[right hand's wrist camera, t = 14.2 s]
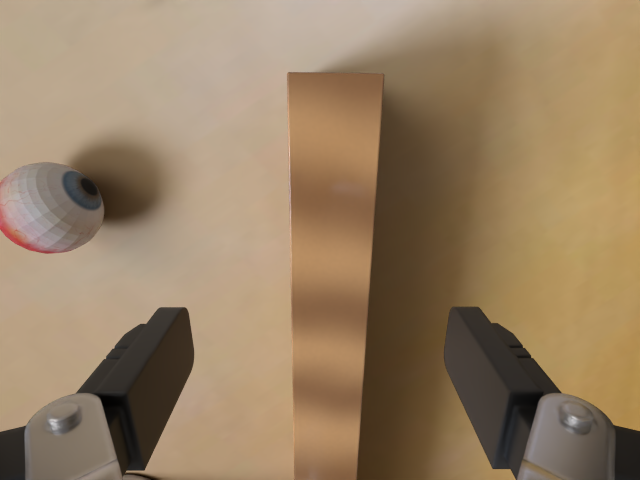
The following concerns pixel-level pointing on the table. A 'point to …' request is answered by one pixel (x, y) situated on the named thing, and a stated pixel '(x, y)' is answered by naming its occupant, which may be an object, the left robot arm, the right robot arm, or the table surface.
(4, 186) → the eyeball
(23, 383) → the table surface
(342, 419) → the bar
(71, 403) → the right robot arm
